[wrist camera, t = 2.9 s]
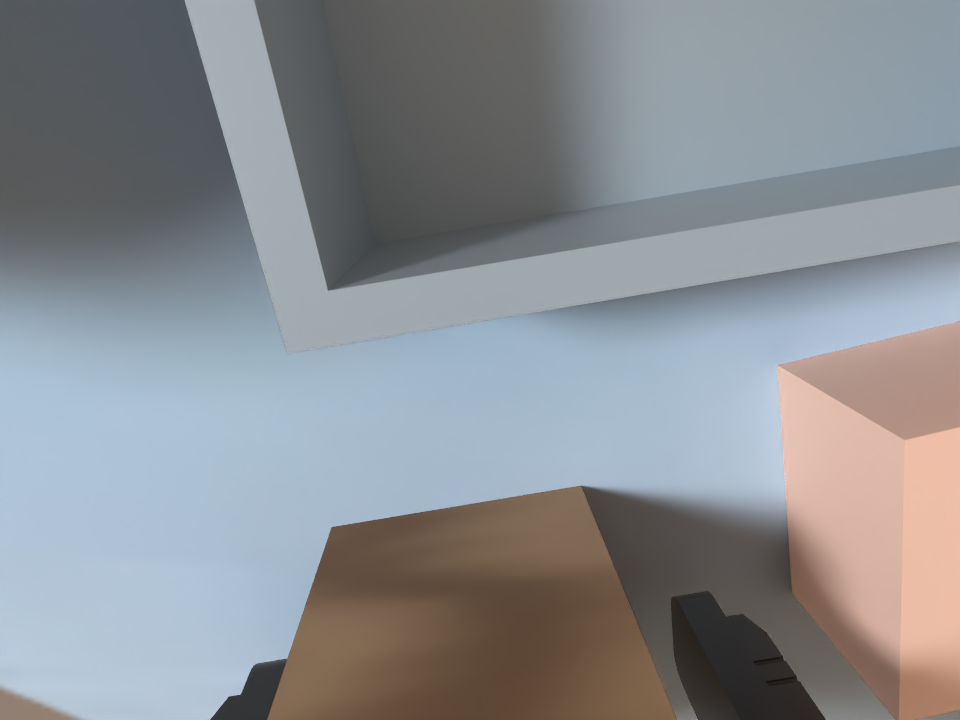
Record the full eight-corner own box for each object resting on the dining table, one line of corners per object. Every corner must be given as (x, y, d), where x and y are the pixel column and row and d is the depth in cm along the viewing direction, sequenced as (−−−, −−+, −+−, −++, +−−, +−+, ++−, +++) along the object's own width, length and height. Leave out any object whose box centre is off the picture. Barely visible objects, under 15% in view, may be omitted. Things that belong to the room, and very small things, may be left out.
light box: (787, 587, 13) (899, 724, 10) (773, 362, 11) (905, 440, 8) (971, 544, 13) (1143, 668, 10) (988, 310, 11) (1210, 367, 8)
